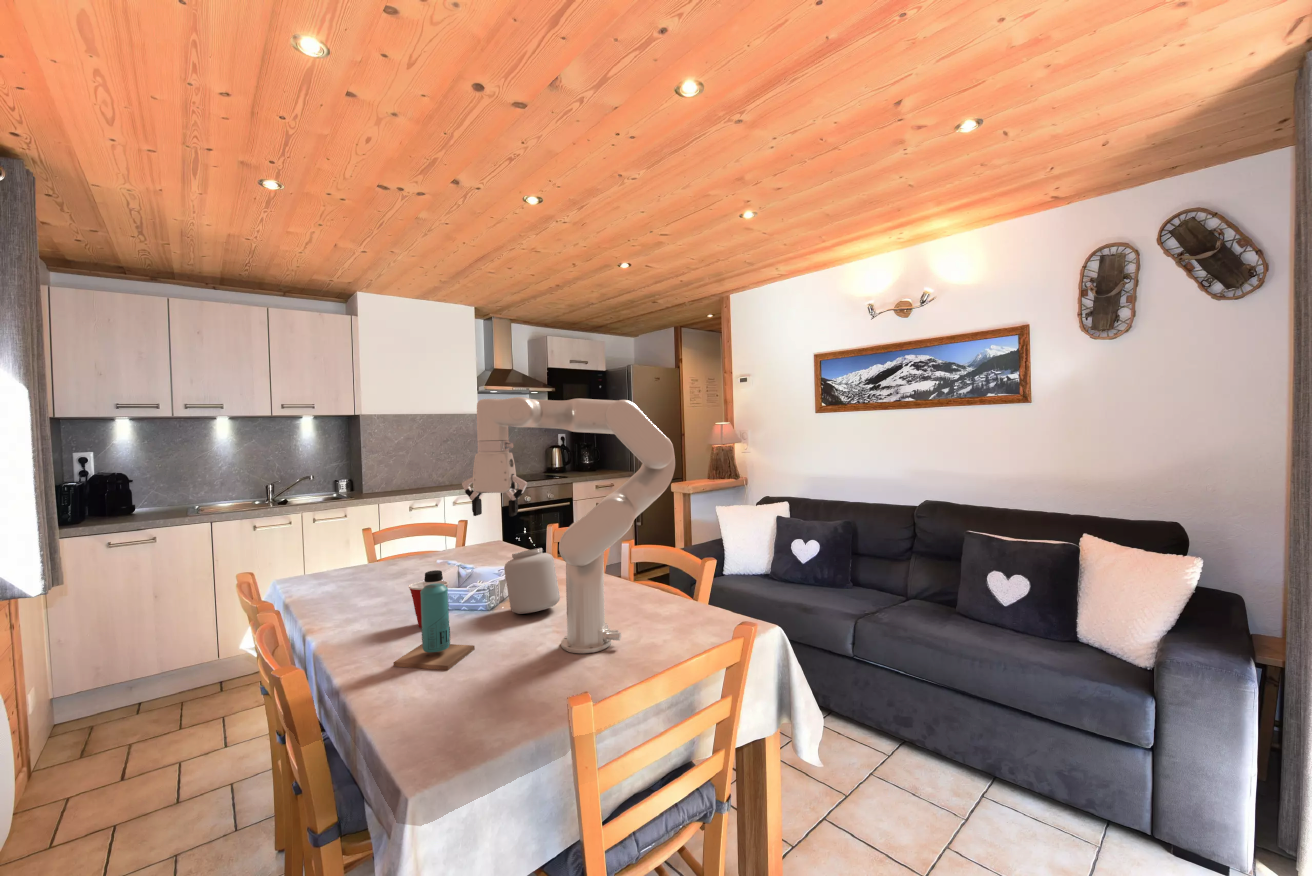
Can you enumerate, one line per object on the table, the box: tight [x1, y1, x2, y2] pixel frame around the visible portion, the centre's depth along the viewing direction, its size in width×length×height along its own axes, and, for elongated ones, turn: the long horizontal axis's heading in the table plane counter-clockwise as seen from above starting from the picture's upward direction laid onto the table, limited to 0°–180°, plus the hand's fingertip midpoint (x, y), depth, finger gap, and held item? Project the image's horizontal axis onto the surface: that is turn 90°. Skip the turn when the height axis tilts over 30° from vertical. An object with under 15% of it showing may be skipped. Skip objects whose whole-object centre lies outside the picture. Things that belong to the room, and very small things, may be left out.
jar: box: [502, 527, 561, 615], centre depth 169 cm, size 19×15×25 cm
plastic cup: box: [407, 580, 450, 629], centre depth 159 cm, size 11×11×12 cm
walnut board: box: [393, 643, 475, 671], centre depth 135 cm, size 14×12×1 cm
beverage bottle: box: [420, 569, 451, 652], centre depth 135 cm, size 6×7×20 cm
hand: (495, 515), depth 141 cm, fingers open, 9 cm apart
